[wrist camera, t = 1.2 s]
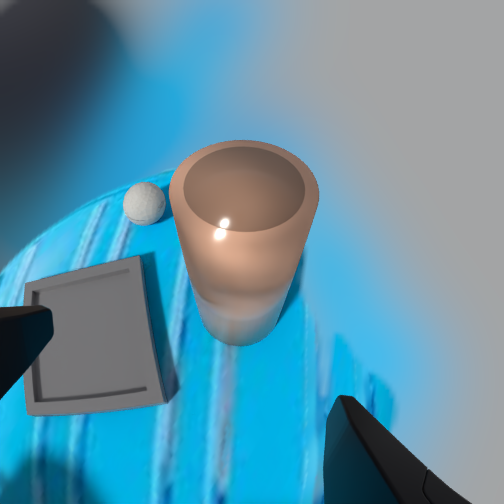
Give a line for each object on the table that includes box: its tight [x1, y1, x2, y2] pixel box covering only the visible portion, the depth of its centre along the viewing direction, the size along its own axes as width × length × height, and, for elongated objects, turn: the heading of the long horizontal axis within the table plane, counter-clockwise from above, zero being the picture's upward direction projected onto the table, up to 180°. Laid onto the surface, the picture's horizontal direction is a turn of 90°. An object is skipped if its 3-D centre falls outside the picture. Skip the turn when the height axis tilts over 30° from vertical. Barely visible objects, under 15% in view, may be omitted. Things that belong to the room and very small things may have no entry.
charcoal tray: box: [23, 256, 167, 416], centre depth 20 cm, size 12×12×1 cm
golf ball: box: [123, 182, 166, 226], centre depth 26 cm, size 4×4×4 cm
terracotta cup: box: [169, 140, 319, 346], centre depth 17 cm, size 6×6×13 cm
